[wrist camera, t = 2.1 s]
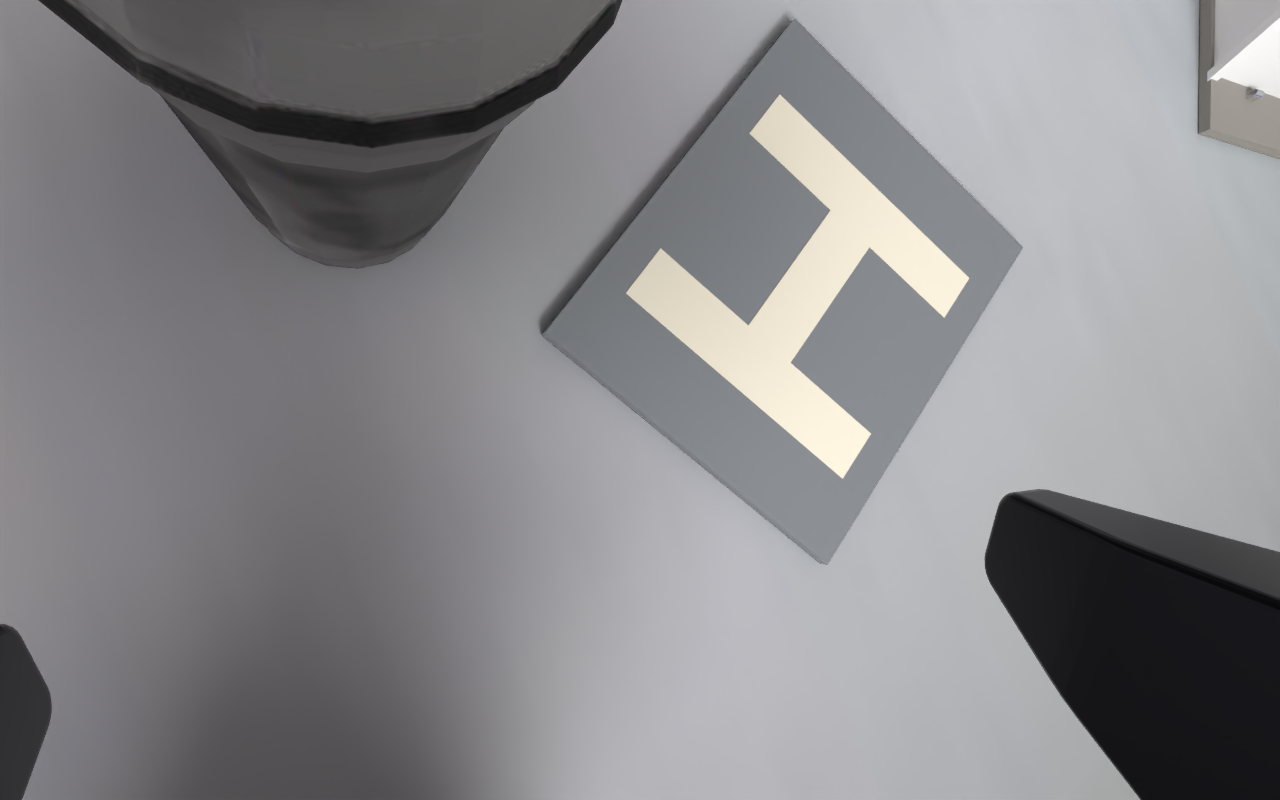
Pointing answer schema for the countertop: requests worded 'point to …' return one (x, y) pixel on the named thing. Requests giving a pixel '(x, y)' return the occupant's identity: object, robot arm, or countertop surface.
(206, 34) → the beverage cup
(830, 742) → the countertop surface
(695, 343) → the letter card
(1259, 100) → the skyscraper
